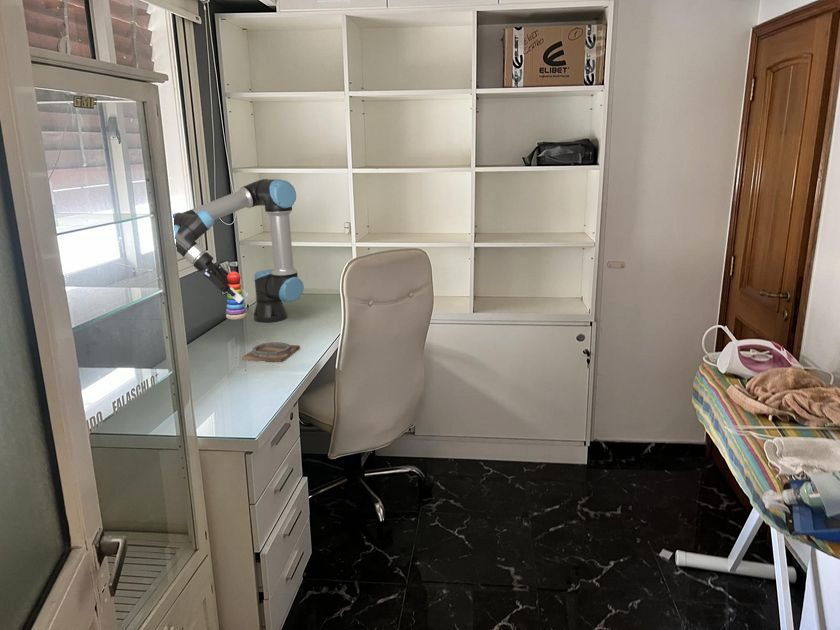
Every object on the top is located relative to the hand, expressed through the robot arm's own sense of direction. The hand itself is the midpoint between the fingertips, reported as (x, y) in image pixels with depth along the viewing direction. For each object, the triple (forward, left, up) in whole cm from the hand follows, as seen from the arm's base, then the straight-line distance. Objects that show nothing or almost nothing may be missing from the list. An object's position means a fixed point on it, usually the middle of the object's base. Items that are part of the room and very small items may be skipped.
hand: (243, 298), depth 255 cm
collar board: (+7, +13, -20) cm, 25 cm away
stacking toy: (+1, -4, -8) cm, 9 cm away
